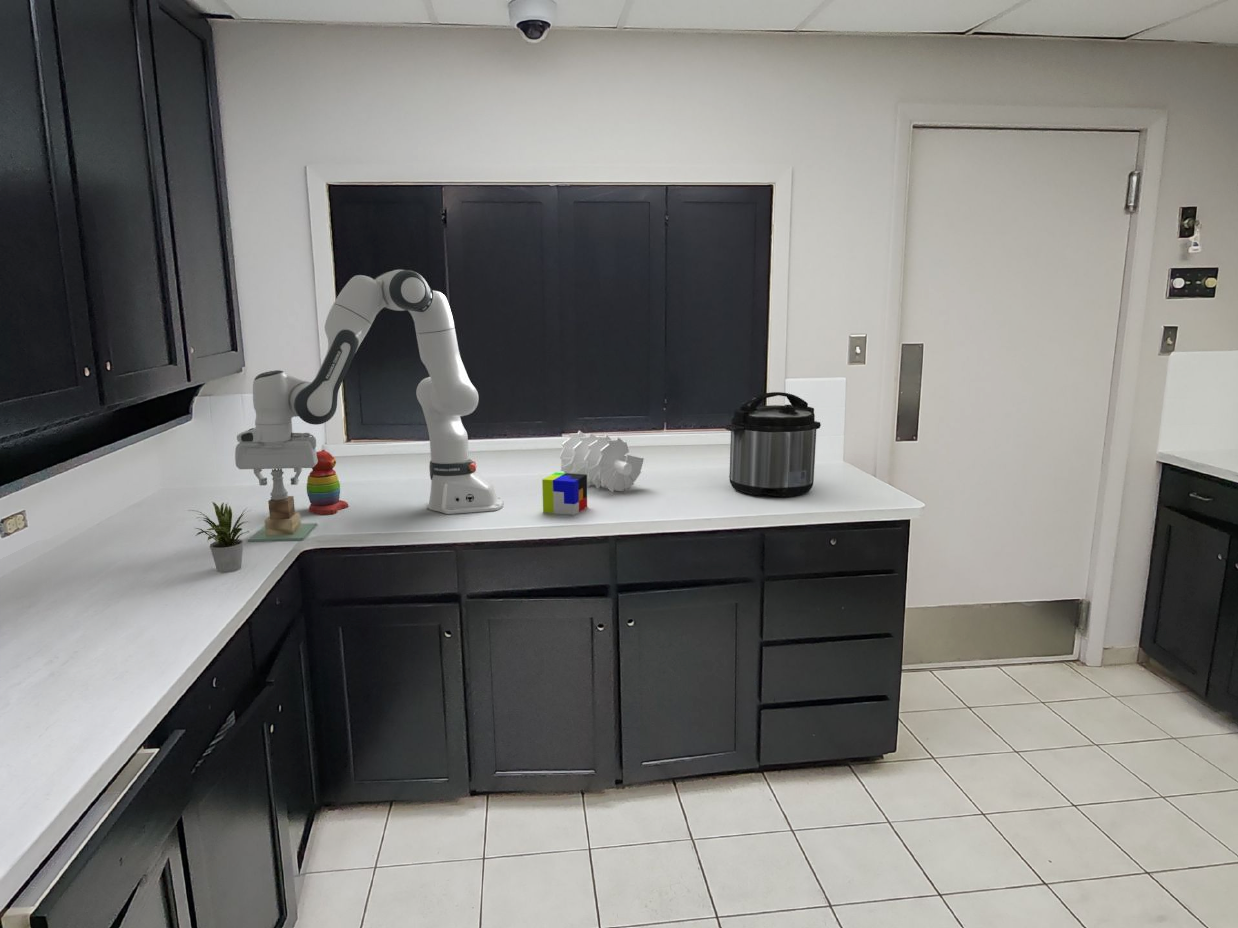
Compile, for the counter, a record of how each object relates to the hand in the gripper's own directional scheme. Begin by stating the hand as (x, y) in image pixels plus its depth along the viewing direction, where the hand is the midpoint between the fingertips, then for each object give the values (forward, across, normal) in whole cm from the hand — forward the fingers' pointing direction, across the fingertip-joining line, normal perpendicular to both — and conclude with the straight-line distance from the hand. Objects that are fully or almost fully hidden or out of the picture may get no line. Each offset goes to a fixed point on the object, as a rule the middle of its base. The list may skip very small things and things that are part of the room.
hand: (279, 484), depth 217 cm
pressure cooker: (+14, -143, -36) cm, 148 cm away
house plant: (+14, +5, +28) cm, 32 cm away
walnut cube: (+9, 0, 0) cm, 9 cm away
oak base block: (+13, 0, 0) cm, 13 cm away
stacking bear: (+14, -5, -24) cm, 28 cm away
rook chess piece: (+4, 0, 0) cm, 4 cm away
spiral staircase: (+14, -88, -44) cm, 99 cm away
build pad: (+13, 0, 0) cm, 13 cm away
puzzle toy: (+14, -76, -17) cm, 79 cm away
